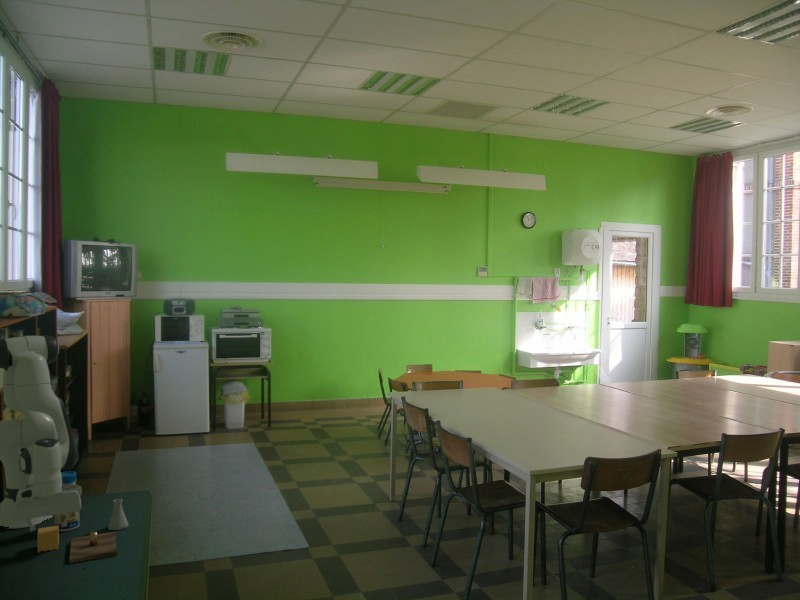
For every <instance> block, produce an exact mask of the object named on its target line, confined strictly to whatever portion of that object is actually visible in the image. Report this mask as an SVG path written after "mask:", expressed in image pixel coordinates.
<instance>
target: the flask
mask: <svg viewBox="0 0 800 600" xmlns="http://www.w3.org/2000/svg"><path fill="white" fill-rule="evenodd" d="M112 502H113V510H112V511H113V512H112V514H111V517H110V520H109V523H108V524H107V525H108V526H107V529H108V530H109V531H120V530H124V529H128V527H129V526H130V524H129V521H128V520H127V518H126V515H125V512H124V509H123V504H122V503H123V499H122V498H118V499H113V501H112Z"/></svg>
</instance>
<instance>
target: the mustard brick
mask: <svg viewBox="0 0 800 600" xmlns="http://www.w3.org/2000/svg"><path fill="white" fill-rule="evenodd" d="M36 535H37V541H36V543H37V553H42V552H41V551H44V552H48V551H47V550H50V551H55V549H56V550H59V546H58V545H59V544H60V531H59V526H55V525H53V526H47V527H39V528H38V531H37V534H36ZM53 549H54V550H53Z"/></svg>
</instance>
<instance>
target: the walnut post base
mask: <svg viewBox="0 0 800 600" xmlns="http://www.w3.org/2000/svg"><path fill="white" fill-rule="evenodd" d="M70 541H71V543H70V547H69V549H70V550H69V557H68V563H70V564H74V562H76V563H80V562H79V561H82V562H86V561H85V560H88V561H92V559H94V560H99V558H100V559H105V558H111V557H117V555H118V550H117V549H118V548H117V531H111V532H104V533H98V531H91V532H89V535H85V536H84V535H83V536H78V537H74V538H73V537H71V540H70ZM110 556H111V557H110Z"/></svg>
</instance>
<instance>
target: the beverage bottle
mask: <svg viewBox="0 0 800 600" xmlns="http://www.w3.org/2000/svg"><path fill="white" fill-rule="evenodd" d="M61 474H62V486H65V485H73V484H76V482H77V472H76V471H74V470H73V471H72V470H69V471H68V470H66V471H62V472H61ZM77 487H78V486H77ZM62 490H63V489H62ZM65 518H66V516H65V514H58V515H54V526H59V532H67V531H72V530H75V529H77V528H78V527H79V526H80V524H81V522H80V511H78V512H72V513H70V516H69V518H68V520H67V526H64V527H62V520H65Z"/></svg>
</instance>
